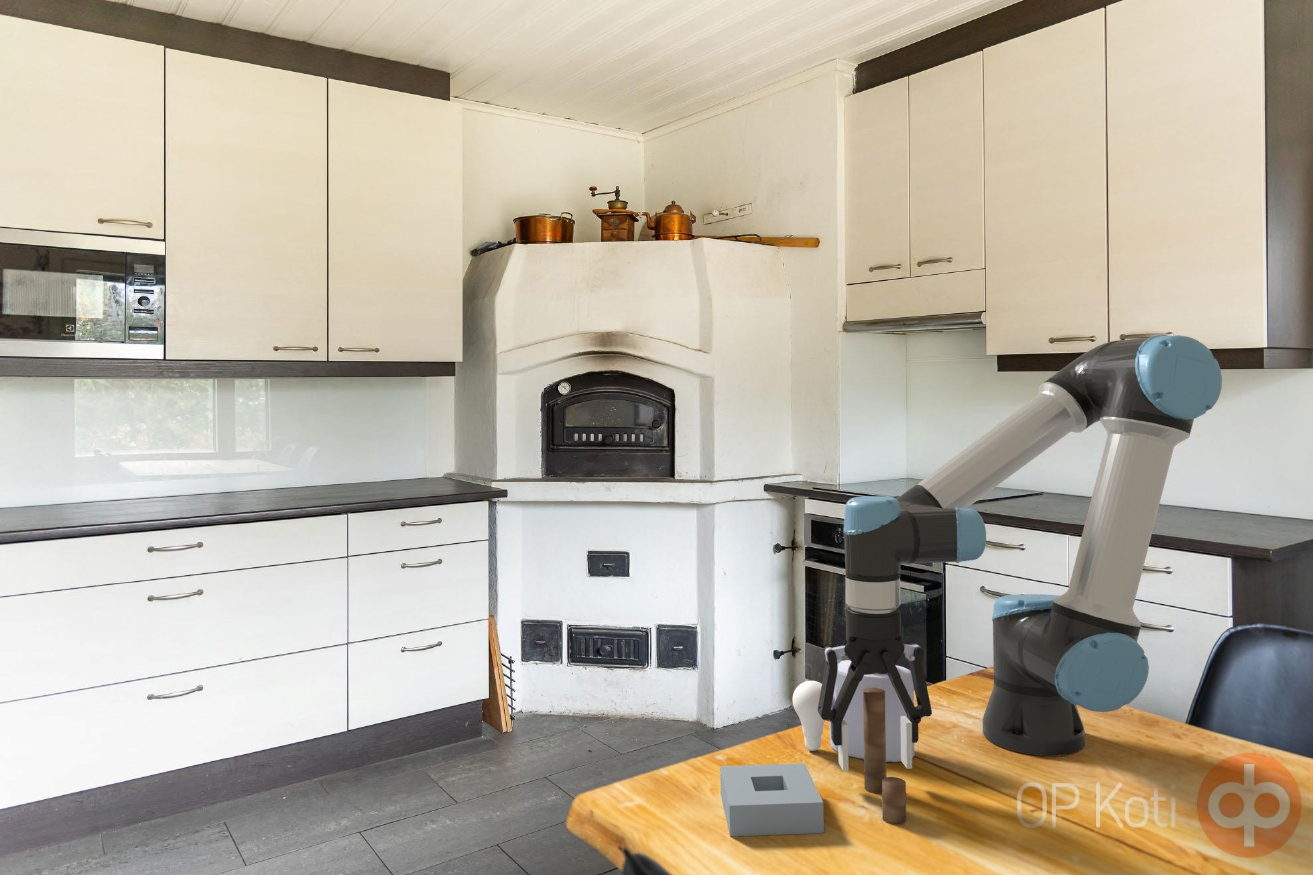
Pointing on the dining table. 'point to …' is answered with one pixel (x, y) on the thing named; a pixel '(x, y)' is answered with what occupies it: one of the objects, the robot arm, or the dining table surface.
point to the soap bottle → (891, 711)
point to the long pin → (874, 739)
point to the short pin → (894, 800)
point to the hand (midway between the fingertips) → (875, 765)
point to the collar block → (770, 800)
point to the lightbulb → (809, 712)
